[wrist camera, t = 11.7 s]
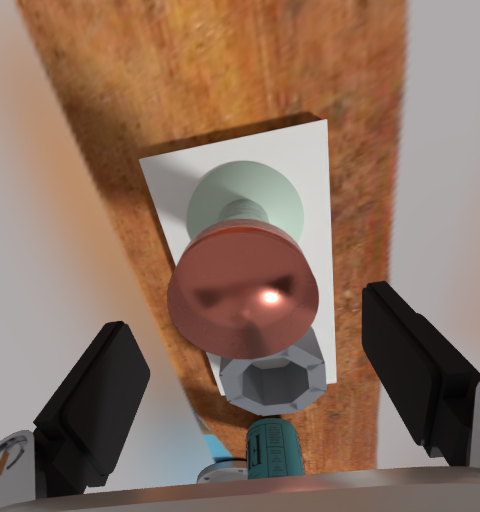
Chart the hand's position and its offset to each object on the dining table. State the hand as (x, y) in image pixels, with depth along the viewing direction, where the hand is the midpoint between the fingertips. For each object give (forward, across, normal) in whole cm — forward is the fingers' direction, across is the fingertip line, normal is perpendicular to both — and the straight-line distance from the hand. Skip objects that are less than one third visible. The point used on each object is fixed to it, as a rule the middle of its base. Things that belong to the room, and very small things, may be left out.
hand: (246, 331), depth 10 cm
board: (+12, 0, +6) cm, 14 cm away
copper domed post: (+11, 0, -1) cm, 11 cm away
